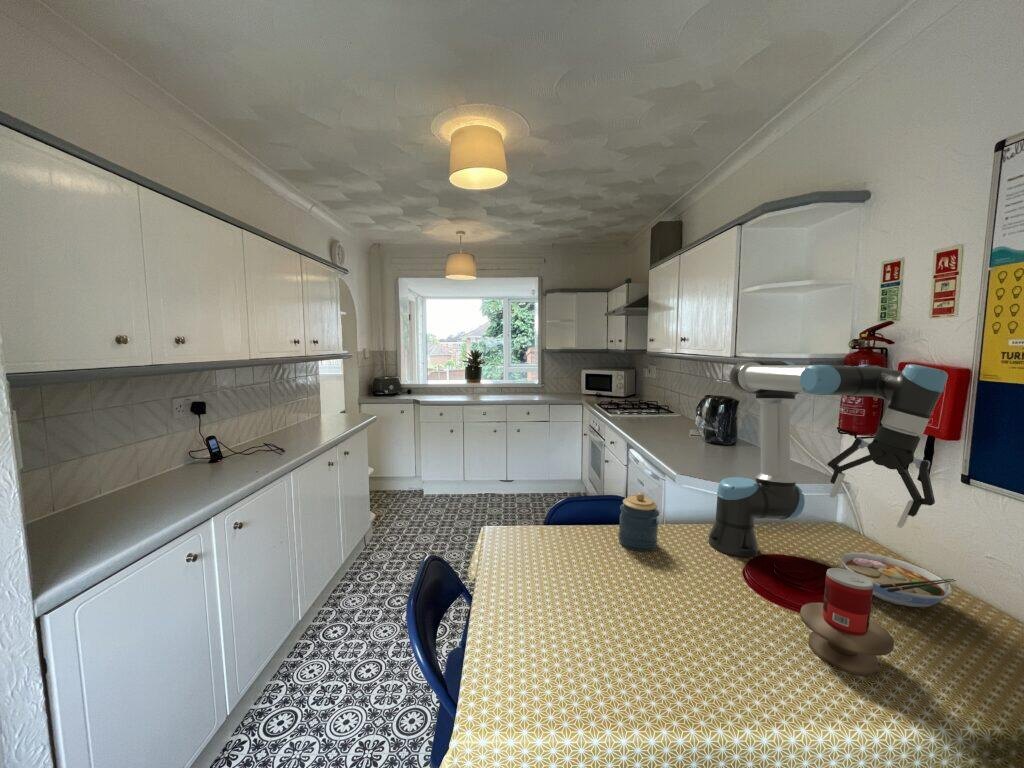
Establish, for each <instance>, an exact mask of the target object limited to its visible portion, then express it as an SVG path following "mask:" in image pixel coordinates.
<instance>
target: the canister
mask: <svg viewBox="0 0 1024 768" xmlns="http://www.w3.org/2000/svg"><path fill="white" fill-rule="evenodd" d="M619 509H620V511H621V512H620V514H619V524H618V525H619V527H618V528H619V530H618V535H617V537H618V542H619V543H620V544H621V545H622V546H623V547H625V548H627V549H630V550H633V551H638V552H650V551H653V550H655V549H656V548H657V545H658V541H659V539H658V533H659V532H658V530H659V523H660V522H659V520H658V518H659V517H658V516H660V511H659V510H658V504H657V503H656V502H655V501H654V500H652V499H651V498H649V497H647V496H645V495H644V493H642V492H638V493H637V494H636V495H629V496H627V497H626V498H624V499H623V500H622V504H620V506H619Z"/></svg>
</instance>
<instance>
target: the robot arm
mask: <svg viewBox="0 0 1024 768" xmlns="http://www.w3.org/2000/svg"><path fill="white" fill-rule="evenodd" d="M728 378H729V382H730V384H731V386H732V387H733V388H734V389H736V390H737V391H739V392H742V393H745V394H751V395H753V394H754V395H755V400H756V401H757V402H758V403H759V405H760V472H759V474H757V475H756V476H755V479H754V480H753V479H751V478H747V477H740V476H739V477H738V476H735V477H734V476H733V477H732V476H731V477H725V478H723V479H722V480H720V481H719V483H718V486H717V491H716V495H717V497H716V507H715V508H716V511H715V520H714V523H713V526H712V527H711V530H710V531H709V534H708V538H707V541H708V542H707V543H708V544H709V545H710V546H711V547H712V548H713V549H715V550H717V551H718V552H721V553H724V554H727V555H730V556H734V557H739V558H740V557H742V558H751V557H755V556H757V555H758V553H759V544H758V540H757V536H756V532H755V519H759V520H760V519H761V520H763V519H764V520H765V519H768V520H769V519H770V520H780V521H782V520H792V519H795V518H798V517H799V516H800V515H801V514H802V512H803V511H804V508H805V503H806V502H805V501H806V500H805V495H804V493H803V490H802V489H801V488H800V487H799V486H798V485H797V484H796V482H797V481H796V479H794V477H793V476H792V475H791V415H790V414H791V404H792V403H793V402H795V401H796V395H798V394H800V393H802V394H804V393H805V394H810V395H816V396H847V397H848V396H849V397H851V396H852V397H873V398H879V399H883V400H887V401H889V403H888V405H887V408H886V409H885V412H884V415H883V417H882V418H881V421H880V423H881V424H882V425H880V426H878V428H877V431H876V433H875V435H874V437H873V440H872V441H871V442H868V441H867V440H866V441H865V440H864V439H863V438H861V437H860V438H856V439H854V441H853V443H852V444H851V445H850V446H849V447H848V448H846V449H845V450H843V451H842V452H841V453H839V454H838V455H837V456H835V457H834V458H832V459H831V460H830V461H828V463H827V466H828V467H830V468H831V469H833V474H832V475H831V478H830V483H831V484H833V486H832V488H831V492H830V493H829V495H828V496H829V498H832V499H833V498H836V497H837V495H838V493H839V491H840V489H841V485H842V484H843V481H844V479H845V476H846V473H845V472H844V471H848V470H849V469H853V468H855V467H857V466H860V465H863V464H865V463H868V462H871V461H872V462H873V463H874V464H875V465H878V466H881V467H882V466H883V467H884V468H887V469H889V470H896V471H897V473H898V475H899V476H900V477H901V480H902V482H903V483H904V485H905V487H906V489H907V491H908V493H909V495H910V497H911V499H910V500H908V501H907V503H906V505H905V507H904V508H903V509H904V510H903V512H902V514H901V516H900V518H899V521H898V522H897V524H896V527H897V528H900V529H901V528H903V527H904V526H905V524H906V522H907V520H908V518H909V517H913V518H914V517H915V516H916V515H918V513H919V510H920V508H921V506H923V505H925V506H933V505H935V503H936V499H935V494H934V490H933V486H932V481H931V476H930V471H929V470H930V467H931V461H930V460H928V459H925V460H924V459H920V458H915V452H916V450H917V448H918V446H919V444H920V441H921V437H920V435H923V434H924V433H925V430H926V428H927V425H928V423H929V421H930V418H931V416H932V414H933V412H934V410H935V407H936V405H937V404H938V401H939V400H940V398H941V396H942V394H943V393H944V391H945V387H946V383H947V381H948V378H949V375H948V373H947V371H945V370H942V369H938V368H933V367H929V366H924V365H918V364H913V363H909V364H906V365H905V367H904V368H903V370H897V369H892V368H888V367H882V366H879V365H872V364H859V365H856V366H855V365H854V366H853V365H851V366H850V365H835V364H834V365H829V364H812V365H809V364H808V365H807V364H806V365H805V364H804V365H800V364H798V365H796V363H793V362H791V361H783V360H755V359H748V360H743V361H740V362H737V363H736V364H735V365H734V366H733V367H732V368H731V370H730V373H729V377H728ZM864 448H867V451H868V453H869V454H868V455H865V456H863V457H861V458H857V459H855V460H853V461H850V462H847V463H845V464H841V463H842V462H843V461H844V460H846V459H847V458H849V457H850V456H851V455H852V454H854V453H855V452H857V451H858V450H859V449H864ZM912 463H914V464H915V467H916V468H917V469H918V474H919V478H920V484H921V488H922V492H923V497H922V496H921V494H920V491H919V490H918V488H917V486H916V484H915V481H914V480H913V478H912V476H911V474H910V472H909V469H908V468H907V467H908V466H909V465H910V464H912ZM839 464H841V465H839ZM916 468H915V469H916Z"/></svg>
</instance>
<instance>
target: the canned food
mask: <svg viewBox="0 0 1024 768" xmlns="http://www.w3.org/2000/svg"><path fill="white" fill-rule="evenodd" d="M824 583H825V584H824V594H823V602H822V603H823V618H824V620H825V621H826V622H827V623H828V624H829V625H830V626H832V627H833V628H835V629H837V630H839V631H842V632H844V633H848V634H851V635H865V634H866V633H867V632H868V630H869V621H870V619H871V612H872V603H873V596H874V595H873V582H872V581H871V580H870V579H868V578H867V577H865V576H863V575H861V574H859V573H856V572H853V571H850V570H846V569H845V568H839V567H831V568H828V569H827V570H826V574H825V581H824Z"/></svg>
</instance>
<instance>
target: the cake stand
mask: <svg viewBox="0 0 1024 768" xmlns="http://www.w3.org/2000/svg"><path fill="white" fill-rule="evenodd" d="M823 603H824V602H808V603H805V604H804V605H802V606H801V608H800V611H799V612H800V614H799V615H800V619H801V621H802V623H803V624H804V625H805V626H806V627H807V628H808V629H809V630H810V631H811V632H810V633H809V635H808V643H807V644H808V646H809V648H810V650H811V651H812V652H813V654H814V655H816V656H817V657H818V658H819V659H820V660H822V661H823V662H824V663H827V664H828V665H830V666H832V667H834V668H836V669H838V670H840V671H843V672H845V673H847V674H851V675H856V676H863V677H867V676H873V675H875V674H876V673H877V672H878V671H879V659H878V657H877V656H886V655H889V654H891V653H892V652H893V651H894V646H895V641H894V638H893V636H892V634H891V633H889V631H888V630H887V629H886V628H885V627H883V626H881V624H879V623H878V622H876V621H874V620H872V619H871V618H870V621H869V630H868V632H867V633H866V634H865V635H851V634H848V633H844V632H842V631H839V630H837V629H835V628H833V627H832V626H830V625H829V624H828V623H827V622H826V621H825V620H824V618H823Z"/></svg>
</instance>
